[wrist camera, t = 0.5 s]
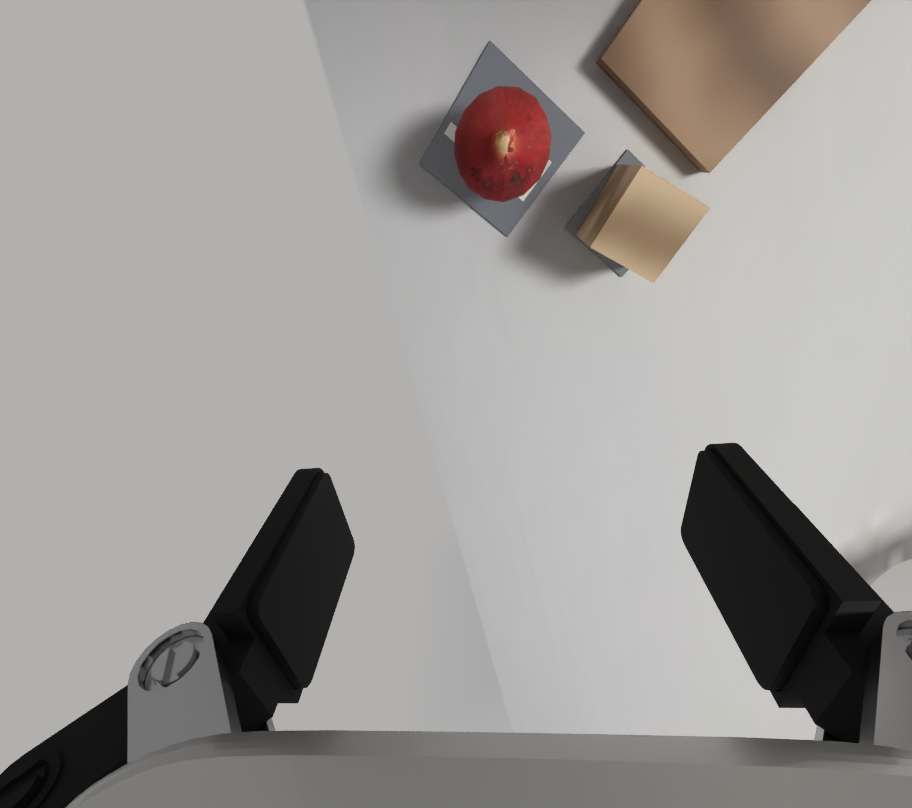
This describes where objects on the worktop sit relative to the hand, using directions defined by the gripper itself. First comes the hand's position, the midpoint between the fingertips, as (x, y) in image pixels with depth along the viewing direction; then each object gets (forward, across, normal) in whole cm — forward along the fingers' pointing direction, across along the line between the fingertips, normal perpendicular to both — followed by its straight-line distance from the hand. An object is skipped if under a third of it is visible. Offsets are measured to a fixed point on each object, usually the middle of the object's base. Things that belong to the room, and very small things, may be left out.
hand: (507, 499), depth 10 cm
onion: (+25, -1, -8) cm, 26 cm away
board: (+25, -15, -13) cm, 32 cm away
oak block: (+25, -10, -3) cm, 27 cm away
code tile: (+25, -1, -8) cm, 26 cm away
